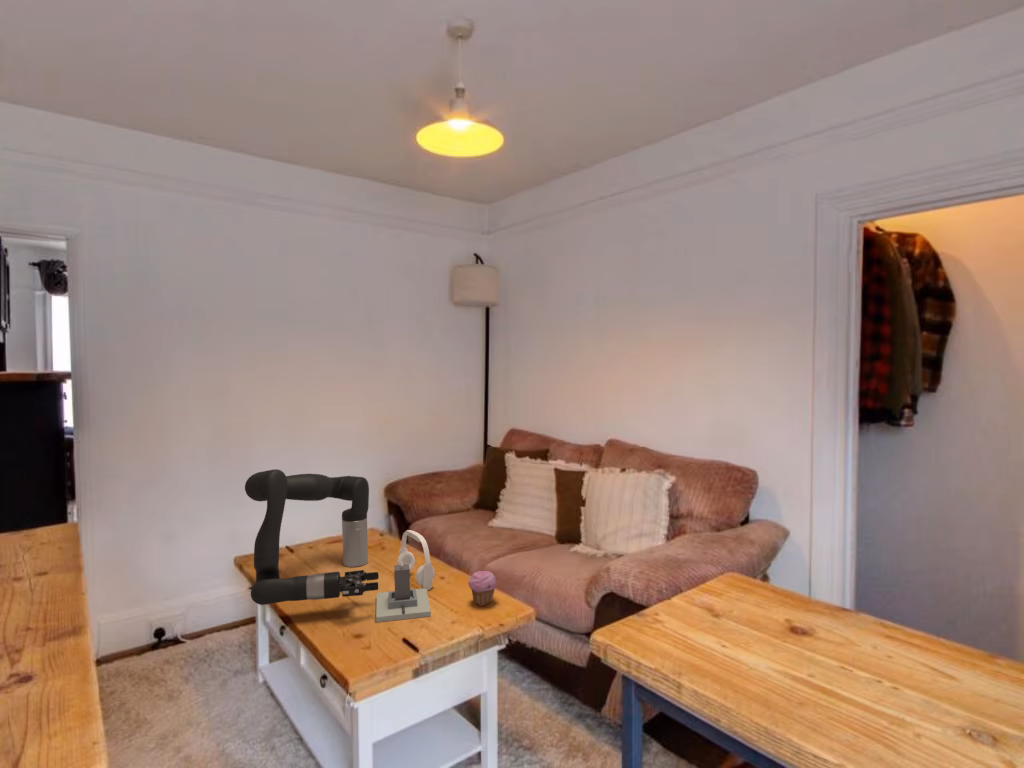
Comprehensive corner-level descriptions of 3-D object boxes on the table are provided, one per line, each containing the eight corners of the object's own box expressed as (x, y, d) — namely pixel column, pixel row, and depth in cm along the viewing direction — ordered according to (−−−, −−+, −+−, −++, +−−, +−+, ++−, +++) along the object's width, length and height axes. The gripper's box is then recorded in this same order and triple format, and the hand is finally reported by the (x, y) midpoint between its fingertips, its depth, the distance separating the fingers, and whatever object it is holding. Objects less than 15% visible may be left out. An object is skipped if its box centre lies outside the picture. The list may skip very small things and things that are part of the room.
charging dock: (376, 597, 185) (376, 587, 185) (426, 592, 189) (426, 582, 189) (376, 622, 168) (375, 610, 168) (430, 616, 171) (430, 604, 171)
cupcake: (464, 601, 181) (463, 570, 181) (486, 594, 187) (486, 564, 186) (479, 611, 174) (478, 579, 174) (502, 603, 179) (501, 572, 179)
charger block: (394, 599, 180) (394, 561, 179) (409, 598, 181) (408, 559, 180) (395, 605, 176) (394, 566, 175) (410, 604, 177) (409, 564, 176)
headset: (438, 589, 191) (437, 537, 190) (418, 595, 187) (417, 541, 186) (411, 572, 207) (410, 523, 207) (393, 576, 203) (392, 527, 203)
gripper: (320, 582, 166) (378, 577, 169) (325, 565, 179) (378, 560, 183) (321, 607, 166) (378, 601, 170) (326, 588, 180) (378, 583, 183)
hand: (378, 580), depth 176 cm, fingers open, 8 cm apart
